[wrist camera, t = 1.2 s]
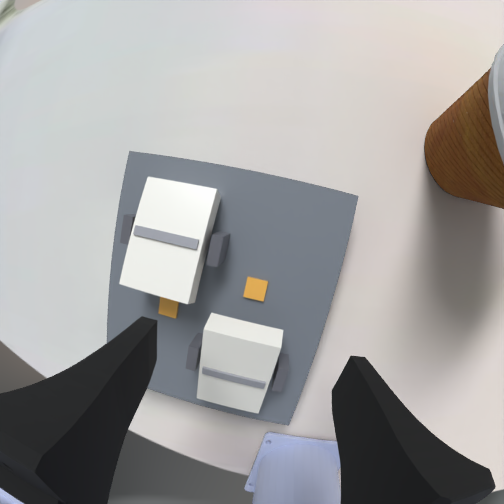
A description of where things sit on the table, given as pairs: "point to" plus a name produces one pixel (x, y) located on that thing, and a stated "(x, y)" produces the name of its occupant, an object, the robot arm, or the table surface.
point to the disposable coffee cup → (472, 141)
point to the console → (240, 273)
